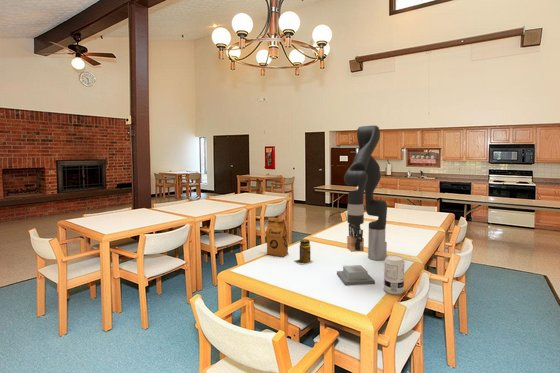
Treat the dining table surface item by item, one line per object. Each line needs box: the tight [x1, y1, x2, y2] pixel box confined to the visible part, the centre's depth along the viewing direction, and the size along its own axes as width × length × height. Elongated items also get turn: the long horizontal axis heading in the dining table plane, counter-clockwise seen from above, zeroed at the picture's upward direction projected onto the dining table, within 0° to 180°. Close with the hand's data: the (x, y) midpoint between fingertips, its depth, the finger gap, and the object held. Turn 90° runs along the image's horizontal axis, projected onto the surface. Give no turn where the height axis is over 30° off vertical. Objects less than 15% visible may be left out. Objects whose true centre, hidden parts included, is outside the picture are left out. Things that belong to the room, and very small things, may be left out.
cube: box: [346, 235, 365, 253], centre depth 160 cm, size 6×6×6 cm
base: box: [336, 264, 376, 286], centre depth 161 cm, size 14×14×5 cm
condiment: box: [294, 238, 314, 266], centre depth 186 cm, size 7×8×12 cm
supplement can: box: [383, 254, 405, 296], centre depth 146 cm, size 8×8×15 cm
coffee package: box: [265, 217, 289, 258], centre depth 199 cm, size 10×12×22 cm
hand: (355, 247), depth 160 cm, fingers closed on cube, 6 cm apart
